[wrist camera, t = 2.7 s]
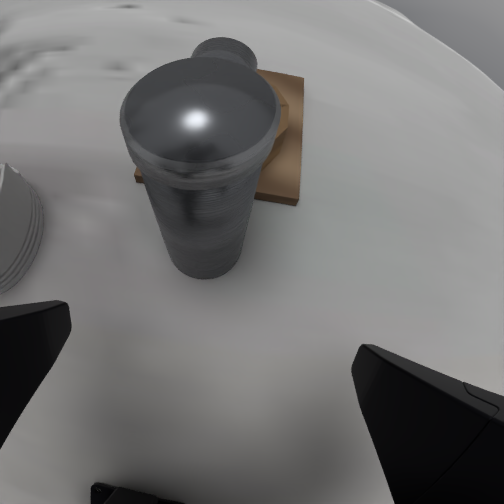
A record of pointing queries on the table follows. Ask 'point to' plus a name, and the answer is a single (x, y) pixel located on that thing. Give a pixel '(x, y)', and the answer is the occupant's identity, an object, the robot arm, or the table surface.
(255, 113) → the pipe fitting
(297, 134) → the duct plate
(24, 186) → the engine component
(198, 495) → the table surface
